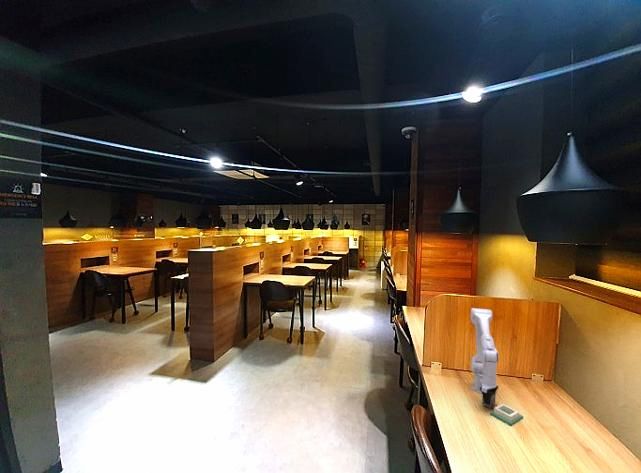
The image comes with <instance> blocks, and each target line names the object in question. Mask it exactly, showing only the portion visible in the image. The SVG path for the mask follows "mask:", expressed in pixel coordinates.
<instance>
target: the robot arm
mask: <svg viewBox="0 0 641 473" xmlns="http://www.w3.org/2000/svg"><path fill="white" fill-rule="evenodd" d="M492 320H493V311H492V310H491V309H485V308H475V307H471V309H470V321H471V323H472V324H473V325H474V327H475V341H476V342H475V343H476V345H475V346H476V354H475V355H474V356H472V357H471V361H470V368H471V372H472V373H473V374H474V375H473V386H471V387H470V389H471V390H473V391H475V392H476V393H479V394H481V395H482V400H483V399H484V403H486V404H488V405H489V404H490V401H491V397H492V394H493V393H495V394H496V392H497V391H498V389H499V385H498V384H497V368H498V367H497V364H498V363H499V359H500V358H499V352H498V350H497V348H496V345H495V340H494V338H493V337H492V335H491V332H490V324H491V322H492Z"/></svg>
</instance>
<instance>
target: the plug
mask: <svg viewBox="0 0 641 473" xmlns="http://www.w3.org/2000/svg"><path fill="white" fill-rule="evenodd" d="M481 402H482V405H483V406H485V407H487V408H489V409H494V408H495V407H497V406H498V403H496V393H493V394H492V397H491V401H490V404H489V405H488V404H486V403H484V399H483V398H482V401H481Z"/></svg>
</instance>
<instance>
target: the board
mask: <svg viewBox="0 0 641 473" xmlns="http://www.w3.org/2000/svg"><path fill="white" fill-rule="evenodd" d="M502 411H503V412H505V413H507V414H509V415H510V414H511V413H509V412H507V411H505V410H502ZM489 415H490V416H492V417H494V418H496V419H497V420H499V421H501V422H503V423H505V424H506V425H508V426H510V427H511V426H513V425H515V424H516V423H518V422H520V421H521V420H522V419H524V415H522V414H520V413H519V417H517V418H515V419H514V420H512V421H509V420H508V419H506V418H504V417H502V416H500V415H498V414H497V413H495V412H494V409H493V410H491V411H490V412H489Z"/></svg>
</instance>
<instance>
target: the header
mask: <svg viewBox="0 0 641 473" xmlns="http://www.w3.org/2000/svg"><path fill="white" fill-rule="evenodd" d="M493 410H494V412H495V413H497V414H498V415H500V416H502V417H504V418H506V419H508V420H509V421H512V420H514V419H515V418H517V417H519V414H520V411H518V410H516V409H514V408H512V407H510V406H508V405H506V404H504V403H500V404H498V405H497V407H496V406H495V407H493ZM502 410H505V411H507V412H509V413H511V414H510V415H509V414H507V413H505V412H503V411H502Z"/></svg>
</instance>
